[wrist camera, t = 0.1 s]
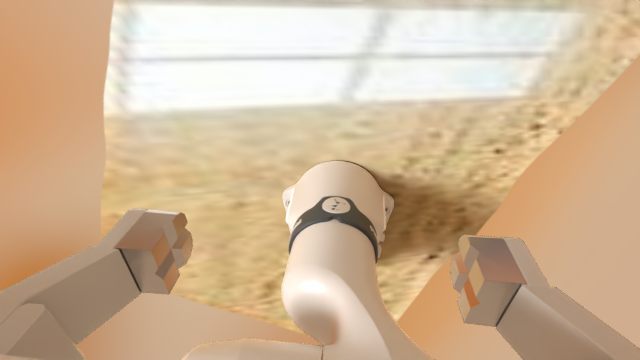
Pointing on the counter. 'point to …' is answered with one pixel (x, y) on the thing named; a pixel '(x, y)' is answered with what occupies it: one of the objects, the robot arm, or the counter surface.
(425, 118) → the counter surface
